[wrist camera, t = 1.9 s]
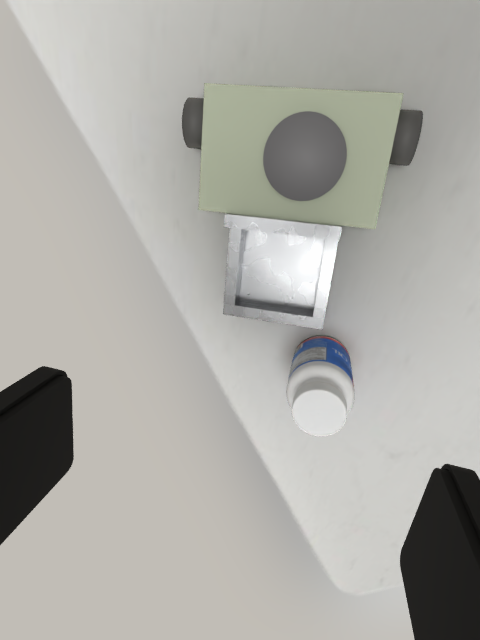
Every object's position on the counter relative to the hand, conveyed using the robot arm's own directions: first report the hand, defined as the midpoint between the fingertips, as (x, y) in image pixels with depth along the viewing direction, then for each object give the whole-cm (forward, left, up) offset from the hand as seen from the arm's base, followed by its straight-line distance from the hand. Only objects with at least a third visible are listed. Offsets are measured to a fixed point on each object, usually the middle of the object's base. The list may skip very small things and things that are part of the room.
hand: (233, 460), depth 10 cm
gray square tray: (+2, 0, -27) cm, 27 cm away
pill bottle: (-3, +9, -27) cm, 28 cm away
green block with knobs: (+2, -9, -27) cm, 28 cm away
